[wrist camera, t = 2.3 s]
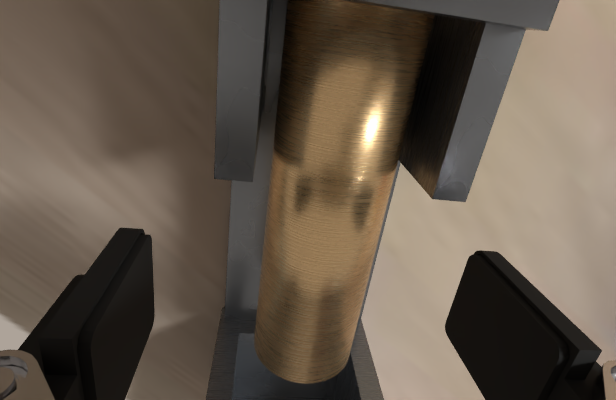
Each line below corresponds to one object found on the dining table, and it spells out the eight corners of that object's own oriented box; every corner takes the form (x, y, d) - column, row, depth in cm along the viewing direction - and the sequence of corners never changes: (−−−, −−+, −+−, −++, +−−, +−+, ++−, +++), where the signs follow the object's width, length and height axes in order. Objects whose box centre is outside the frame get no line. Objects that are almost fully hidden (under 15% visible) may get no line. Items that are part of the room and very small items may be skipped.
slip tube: (295, -97, 11) (305, -153, 7) (426, -72, 11) (496, -114, 8) (256, 306, 17) (251, 382, 14) (341, 310, 18) (358, 384, 14)
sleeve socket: (242, -109, 12) (207, -246, 6) (456, -68, 13) (624, -148, 7) (218, 380, 22) (195, 528, 16) (342, 383, 23) (368, 524, 17)
